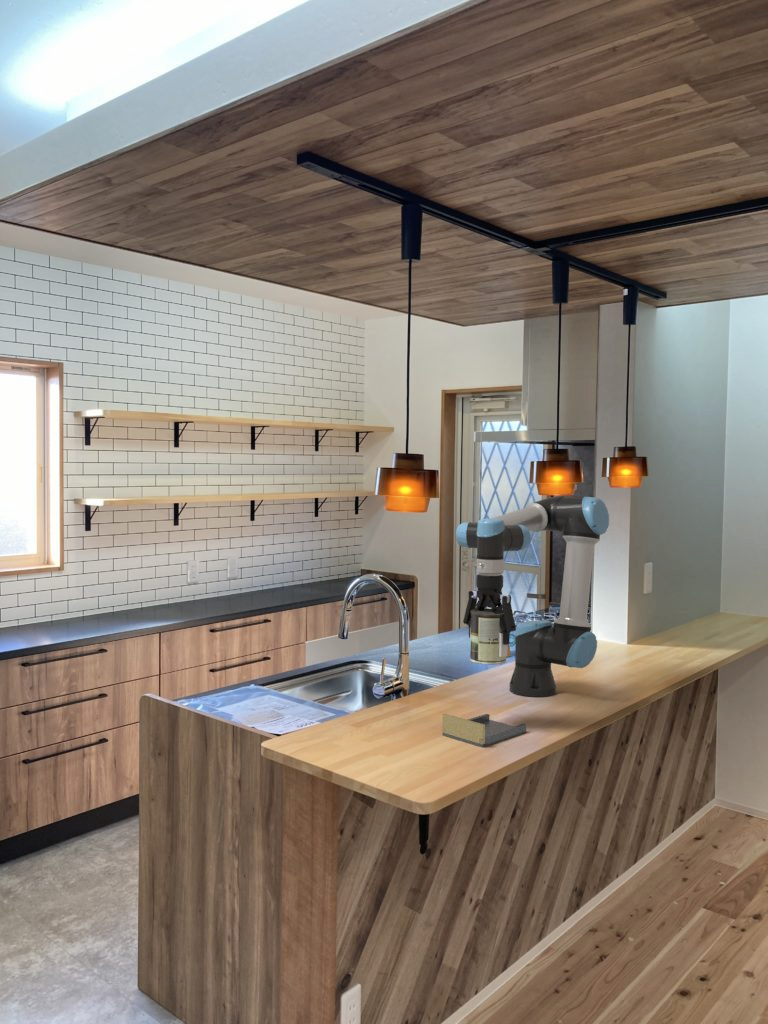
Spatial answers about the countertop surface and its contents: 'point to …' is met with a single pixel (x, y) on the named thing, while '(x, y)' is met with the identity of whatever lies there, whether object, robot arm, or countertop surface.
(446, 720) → the rail channel
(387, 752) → the countertop surface
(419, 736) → the countertop surface
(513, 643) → the orange column with rings
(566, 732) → the countertop surface
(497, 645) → the coffee can
